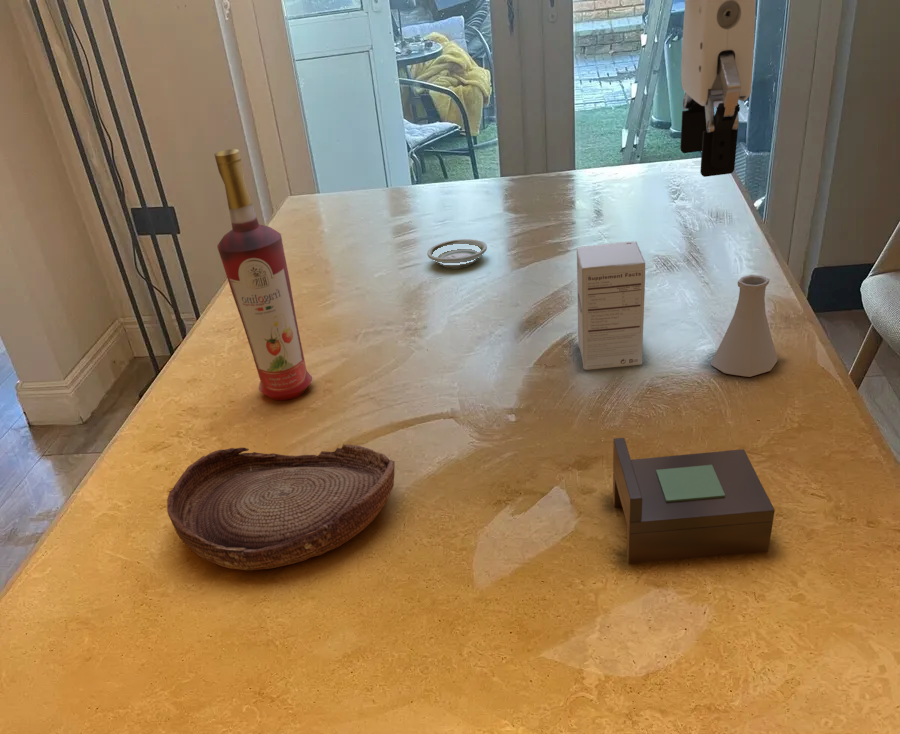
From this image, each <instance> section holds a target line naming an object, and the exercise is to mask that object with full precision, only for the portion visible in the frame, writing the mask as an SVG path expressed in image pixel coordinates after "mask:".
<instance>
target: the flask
mask: <svg viewBox="0 0 900 734" xmlns="http://www.w3.org/2000/svg"><path fill="white" fill-rule="evenodd" d="M769 284H770V278H768V277H766V276H763V275H757V274H749V275H745V276H742V277H740V278H739V280H738V281H737V284H736V285H737V287H738V288H739V291H738V300H737V303H736V307H735V310H734V313H733V315H732V318H731V320H730V322H729V325H728V327H727V329H726V331H725V334H724V336H723V338H722V340H721V342H720V344H719V346H718V348H717V350H716V351H715V353H714V356H713V358H712V360H711V362H710V365H711V366H712V367H714V368H715V369H717V370H719V371H720V372H722V373H723V374H727V375H733V376H739V377H740V376H741V377H746V378H747V377H748V378H751V377H755V376H757V375H761V374H764V373H767V372H771V371H772V369H773V368H774V367H775V365H776V364H777V362H778V361H779V359H778V355H777V351H776V347H775V344H774V340H773V337H772V333H771V330H770V326H769V322H768V318H767V317H768V316H767V313H766V299H765V298H766V297H765V296H766V288H767V286H768V285H769Z"/></svg>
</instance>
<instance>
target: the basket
mask: <svg viewBox="0 0 900 734" xmlns="http://www.w3.org/2000/svg"><path fill="white" fill-rule="evenodd" d="M249 450H250V449H249V448H248V447H236V448H235V447H230V448H226V449H217V450H215V451H211V452H209V453H208V454H207V455H202V456H201V457H200V458H199V459H196V460H195V462H193V463H192V464H190V465H188V466H187V467H186V469H185V470H184V472H183V473H182V474H181V476H179V478H178V480H177V481H176V482H175V484H174V486H173V487H172V489H171V490H169V492H168V496H167V499H166V513H167V515H168V517H169V519H170V522H171V524H172V526H173V528H174V530H175V532H176V534H177V536H178V537H179V538H180V539H181V542H182V543H183V544H184V545H185V546H187V548H189V549H190V550H191V551H193V553H195V554H196V555H197V556H199V557H200V558H202V559H204V560H206V561H208V562H209V563H213V564H216V565H219V566H221V567H223V568H228V569H233V570H240V571H241V570H242V571H243V570H244V571H258V570H259V571H260V570H269V569H275V568H281V567H284V566H288V565H292V564H296V563H297V564H298V563H300V562H305V561H306V560H308V559H311V558H315V557H317V556H323V555H324V554H325V553H327V552H329V551H332V550H334V549H337V548H339V547H340V546H342V545H344V544H345V543H347V542H348V541H350V540H352V539H353V538H354V537H356V536H357V535H359V534H360V533H361V532H362V531H364V529H366V528H367V527H368V526H369V525H370V524H371V523H372V522H373V521H374V520H375V518H376V517H377V516H378V515H379V514H380V512H381V511H382V509H383V508H384V506H385V505H386V504H387V502H388V501H389V497H390V495H391V493H392V491H393V489H394V485H395V464H396V463H395V460H393V459H389V457H388V456H387V455H385V454H384V453H381V452H378V451H375V450H374V449H371V448H368V447H365V446H361V445H358V444H345V443H344V444H342V446H341V447H336V449H334V451H325V450H321V452H320V453H319V454H318V455H317V454H301V455H287V454H279V453H275V452H272V453H263V452H256V451H253V452H248V451H249Z"/></svg>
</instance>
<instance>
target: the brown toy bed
mask: <svg viewBox="0 0 900 734" xmlns="http://www.w3.org/2000/svg"><path fill="white" fill-rule="evenodd" d="M612 440H613V444H612V445H613V447H612V449H613V451H612V453H613V454H612V461H613V462H612V504H613V507H614V508H622V511H623V514H624V518H625V523H626V561H627V563H628V564H631V565H632V564H642V563H654V562H666V561H678V560H690V559H702V558H714V557H725V556H737V555H738V556H739V555H751V554H761V553H762V554H763V553H768V552H769V548H770V543H771V536H772V530H773V524H774V517H775V511H776V510H775V508H774V506H773V504H772V502H771V500H770V498H769V495H768V493H767V492H766V489H765V488H764V485H763V484H762V482H761V480H760V478H759V476H758V474H757V472H756V470H755V468H754V466H753V464H752V462H751V460H750V458H749V457H748V454H747V452H746V450H745V449H744V448H741V449H731V450H730V449H729V450H721V451H710V452H699V453H688V454H677V455H667V456H657V457H644V458H635V459H633V458H632V459H631V455H630V452H629V448H628V445H627V441H626V438H625V437H618V438H616V437H615V438H613V439H612Z"/></svg>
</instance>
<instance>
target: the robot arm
mask: <svg viewBox="0 0 900 734" xmlns="http://www.w3.org/2000/svg"><path fill="white" fill-rule="evenodd" d="M755 30H756V0H684V14H683V26H682V40H681V41H682V42H681V43H682V44H681V63H680V64H681V65H680V66H681V67H680V74H681V75H680V80H681V81H680V83H681V87H682V90H683V92H684V94H683V100H682V108H683V110H682V112H681V128H680V129H681V131H680V144H679V145H680V148H679V150H680V151H681V153H683V154H689V153H698V152H701V154H700V155H701V158H700V171H699V173H700V175H701V177H703V178H704V177H705V178H706V177H713V176H714V177H715V176H723V175H731V174H733V173H734V172H735V169H736V168H735V167H736V158H737V157H736V156H737V155H736V154H737V144H738V135H739V134H738V133H739V124H740V123H739V122H740V119H739V113H740V110H741V107H740V104H739V101H740V102H745V101H746V100H747V99H748V98H749V97H750V96H751V93H752V85H753V84H752V82H753V69H754V68H753V66H754V52H755V51H754V49H755V47H754V46H755V33H756V32H755ZM715 108H716V110H715Z"/></svg>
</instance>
